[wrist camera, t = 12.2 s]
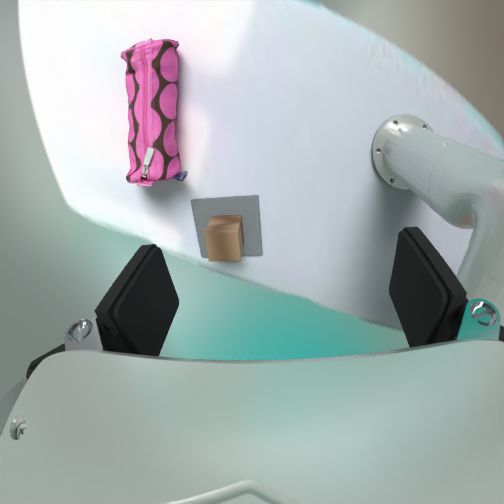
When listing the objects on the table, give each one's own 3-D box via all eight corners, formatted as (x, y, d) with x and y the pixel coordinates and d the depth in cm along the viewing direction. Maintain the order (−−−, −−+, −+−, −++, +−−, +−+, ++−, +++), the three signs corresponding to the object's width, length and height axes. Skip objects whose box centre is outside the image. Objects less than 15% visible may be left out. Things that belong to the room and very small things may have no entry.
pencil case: (196, 169, 42) (177, 191, 33) (141, 172, 42) (112, 194, 34) (191, 39, 30) (169, 26, 22) (133, 50, 31) (99, 44, 22)
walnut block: (241, 214, 45) (237, 231, 40) (244, 241, 48) (240, 260, 42) (211, 215, 45) (203, 233, 40) (215, 242, 48) (209, 261, 43)
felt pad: (258, 195, 43) (258, 196, 43) (262, 253, 49) (262, 255, 49) (191, 199, 44) (190, 200, 44) (202, 255, 50) (201, 257, 50)
